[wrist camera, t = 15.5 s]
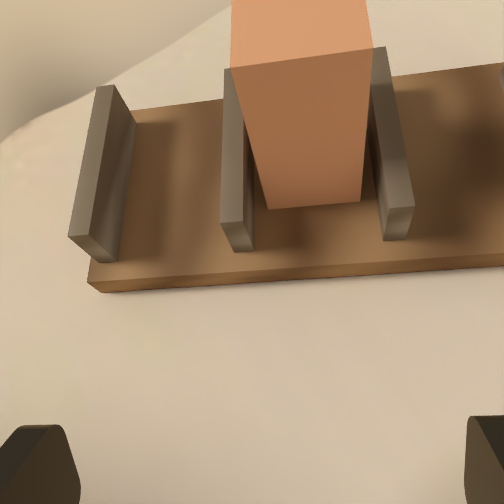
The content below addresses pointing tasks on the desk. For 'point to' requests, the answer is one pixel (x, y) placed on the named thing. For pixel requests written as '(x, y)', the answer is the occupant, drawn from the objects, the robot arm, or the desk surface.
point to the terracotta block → (304, 95)
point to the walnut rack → (296, 218)
